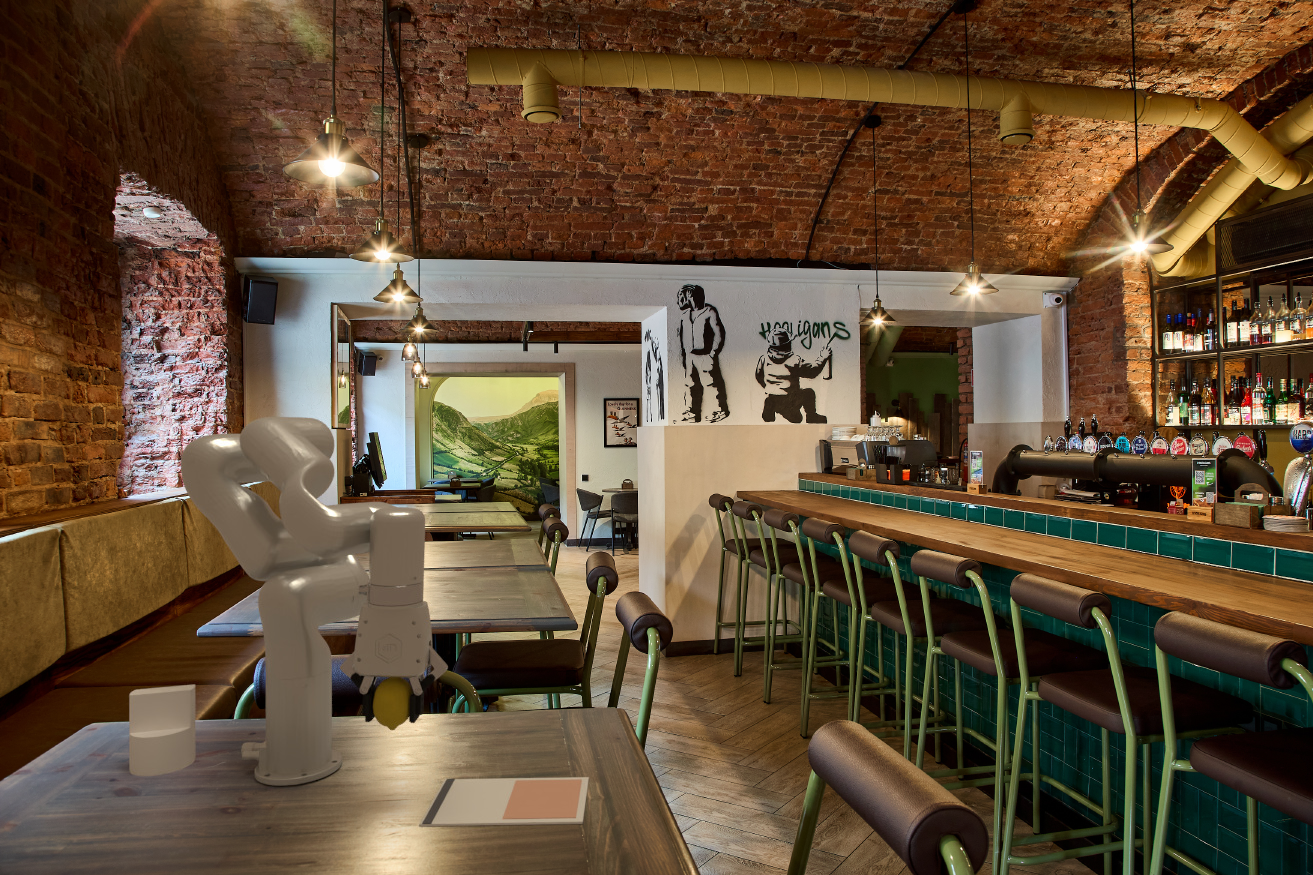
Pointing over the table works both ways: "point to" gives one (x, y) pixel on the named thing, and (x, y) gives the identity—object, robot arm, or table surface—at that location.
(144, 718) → the base with upright slab
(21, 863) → the table surface
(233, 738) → the table surface
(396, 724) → the lemon
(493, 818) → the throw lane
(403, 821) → the table surface
